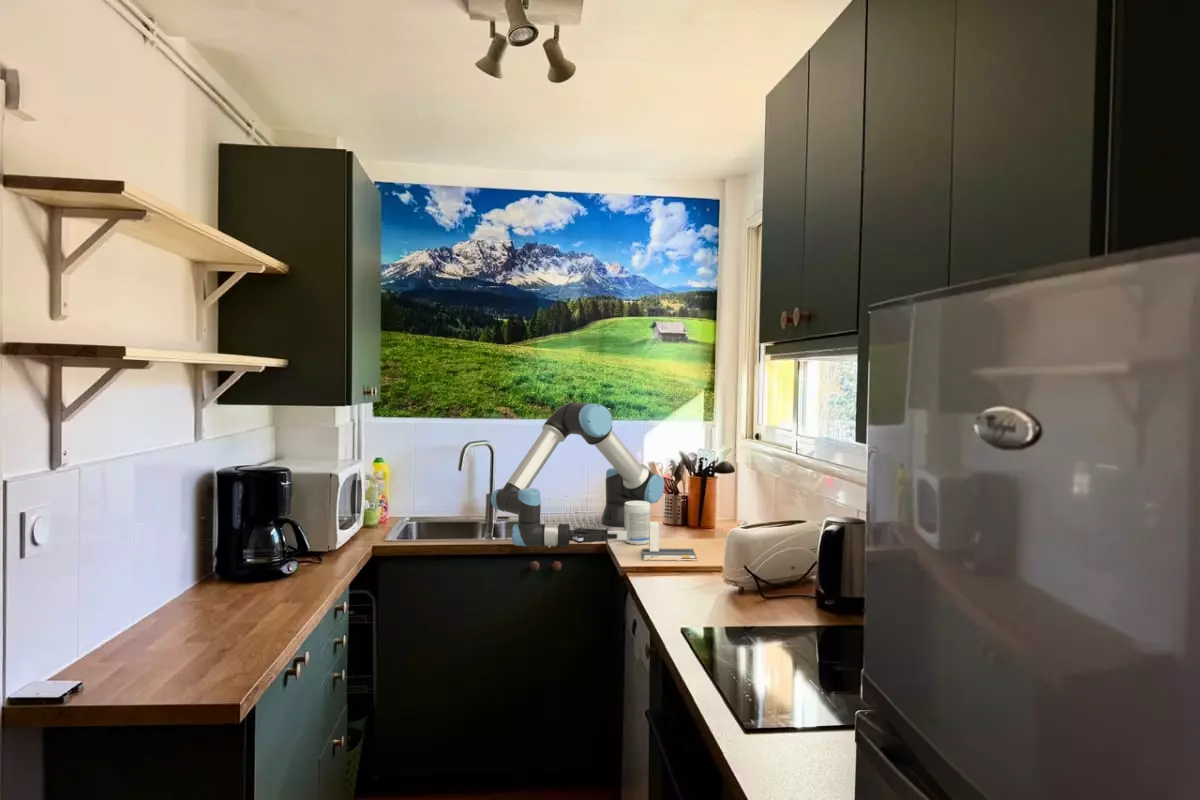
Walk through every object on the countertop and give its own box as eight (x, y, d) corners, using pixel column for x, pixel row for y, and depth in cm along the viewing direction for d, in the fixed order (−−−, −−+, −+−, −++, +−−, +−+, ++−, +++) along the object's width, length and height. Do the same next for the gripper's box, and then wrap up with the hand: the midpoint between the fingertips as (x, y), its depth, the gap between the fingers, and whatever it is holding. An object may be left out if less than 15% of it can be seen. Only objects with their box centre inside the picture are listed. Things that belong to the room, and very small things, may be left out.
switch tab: (649, 551, 252) (649, 521, 251) (657, 551, 252) (658, 521, 251) (649, 554, 247) (650, 524, 246) (658, 555, 247) (659, 524, 246)
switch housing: (641, 551, 255) (641, 546, 255) (692, 551, 255) (693, 546, 255) (643, 560, 243) (643, 555, 243) (697, 560, 243) (697, 555, 243)
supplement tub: (655, 542, 268) (655, 502, 267) (638, 546, 262) (638, 506, 261) (636, 537, 275) (636, 499, 274) (618, 542, 269) (619, 502, 268)
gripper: (559, 541, 256) (626, 541, 256) (556, 550, 243) (627, 551, 243) (559, 520, 256) (626, 520, 255) (556, 528, 243) (627, 529, 242)
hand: (626, 535), depth 249 cm, fingers closed
